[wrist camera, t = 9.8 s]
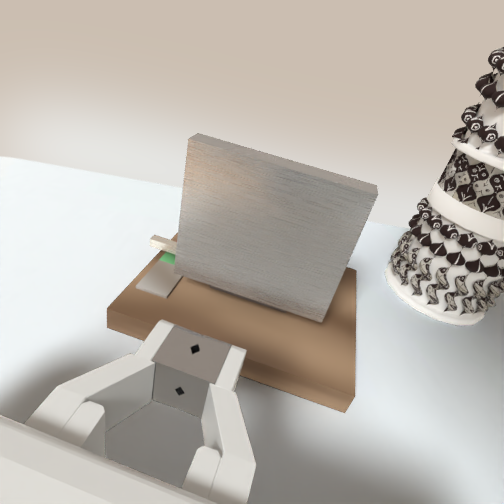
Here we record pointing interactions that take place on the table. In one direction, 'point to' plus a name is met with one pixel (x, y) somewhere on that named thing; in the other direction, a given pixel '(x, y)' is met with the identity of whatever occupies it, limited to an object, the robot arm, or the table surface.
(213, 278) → the brushed metal plate
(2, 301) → the table surface
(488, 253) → the decorative candle
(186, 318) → the base
